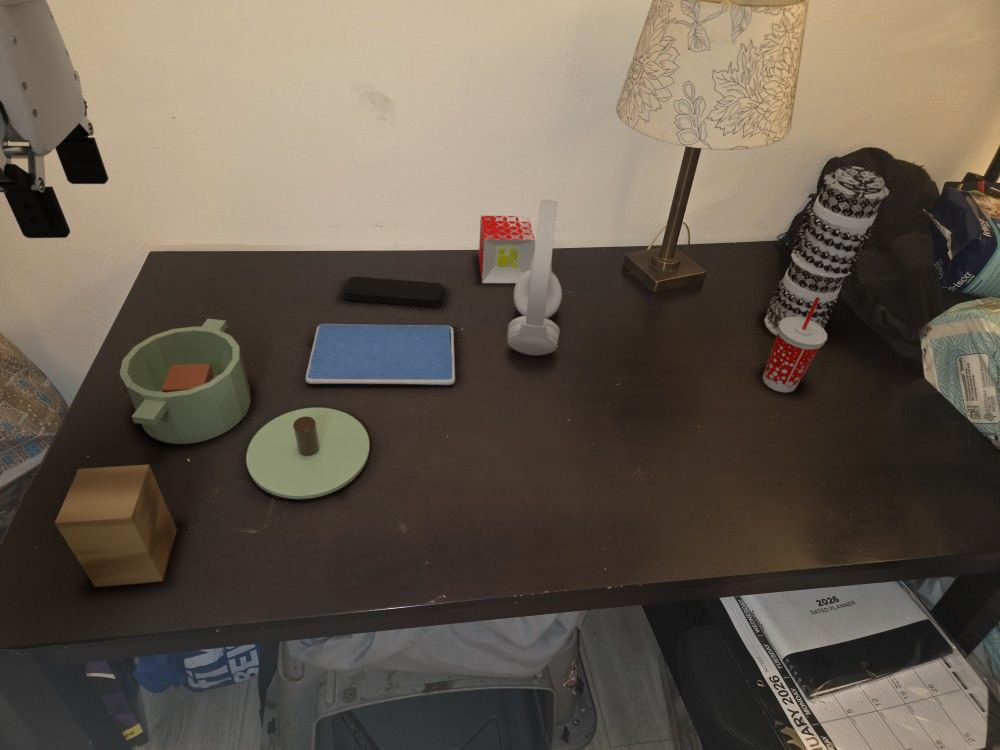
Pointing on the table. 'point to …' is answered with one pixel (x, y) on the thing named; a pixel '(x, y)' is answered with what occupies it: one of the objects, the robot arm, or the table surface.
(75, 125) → the robot arm
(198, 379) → the block
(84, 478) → the block
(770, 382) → the beverage cup
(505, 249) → the red and white cube
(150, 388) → the light green round pot
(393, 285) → the remote control
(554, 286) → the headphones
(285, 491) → the lid
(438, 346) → the tablet
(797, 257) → the white patterned cylinder
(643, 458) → the table surface
